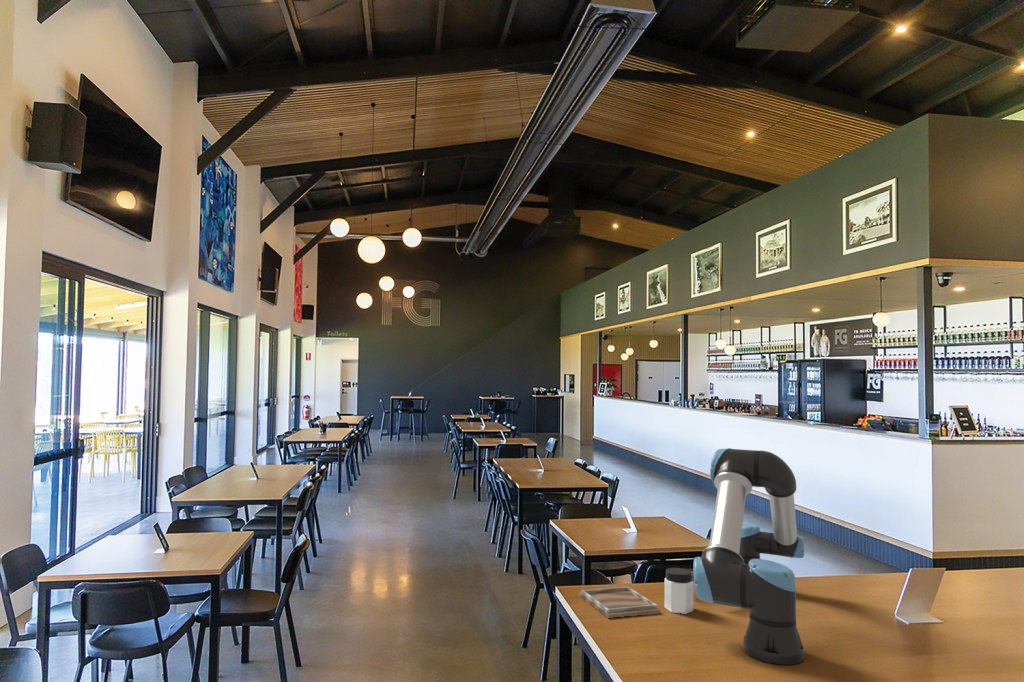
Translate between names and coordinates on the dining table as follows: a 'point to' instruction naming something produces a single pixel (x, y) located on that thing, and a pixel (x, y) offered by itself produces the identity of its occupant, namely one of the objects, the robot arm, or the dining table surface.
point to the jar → (678, 590)
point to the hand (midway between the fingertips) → (696, 583)
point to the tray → (619, 602)
